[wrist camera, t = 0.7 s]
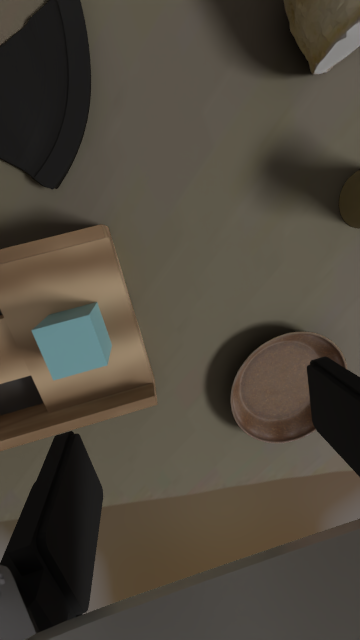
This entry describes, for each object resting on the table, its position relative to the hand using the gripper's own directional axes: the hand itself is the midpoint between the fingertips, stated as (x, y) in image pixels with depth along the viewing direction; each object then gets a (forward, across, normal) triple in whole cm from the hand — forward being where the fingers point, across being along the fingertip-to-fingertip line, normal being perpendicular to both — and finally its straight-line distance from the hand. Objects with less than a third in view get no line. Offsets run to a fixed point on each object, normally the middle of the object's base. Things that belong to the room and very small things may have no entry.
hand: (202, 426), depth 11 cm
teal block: (+17, +8, 0) cm, 19 cm away
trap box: (+20, +16, 0) cm, 26 cm away
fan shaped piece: (+21, +5, -19) cm, 29 cm away
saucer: (+21, -12, +14) cm, 28 cm away
